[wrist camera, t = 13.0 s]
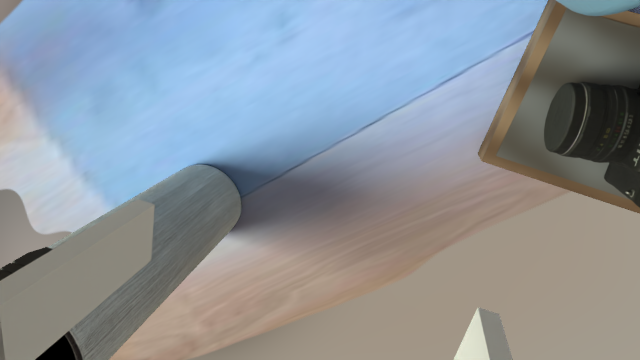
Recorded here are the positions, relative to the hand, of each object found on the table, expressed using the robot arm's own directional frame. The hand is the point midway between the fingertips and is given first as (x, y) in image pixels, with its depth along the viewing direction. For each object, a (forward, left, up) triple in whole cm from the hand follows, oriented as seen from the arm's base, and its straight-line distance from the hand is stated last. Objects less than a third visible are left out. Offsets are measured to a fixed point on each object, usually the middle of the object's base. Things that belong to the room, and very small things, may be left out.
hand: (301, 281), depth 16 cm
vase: (+17, -18, -31) cm, 40 cm away
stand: (-8, +19, -31) cm, 38 cm away
